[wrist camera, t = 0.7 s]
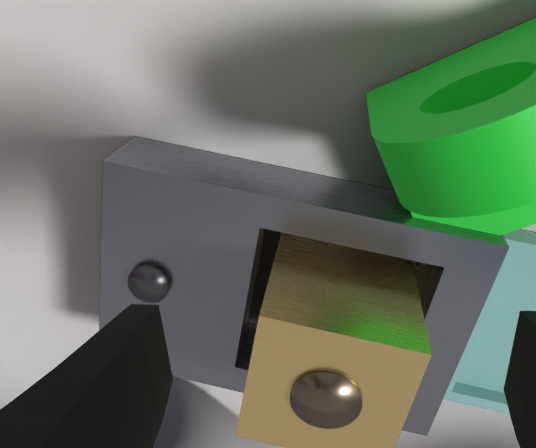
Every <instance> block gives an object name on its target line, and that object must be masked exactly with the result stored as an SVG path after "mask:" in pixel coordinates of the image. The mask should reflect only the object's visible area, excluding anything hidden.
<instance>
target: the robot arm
mask: <svg viewBox="0 0 536 448" xmlns="http://www.w3.org/2000/svg"><path fill="white" fill-rule="evenodd" d="M172 379H173V376H172V371H171V366H170V360H169V355H168V350H167V345H166V340H165V335H164V329H163V324H162V319H161V314H160V309H159V305H147V304H131V305H129V306H128V307H127V308H126V309H124V310H123V311H122V312H121V313H119V314H118V315H117V316H116V317H115V318H113V319H112V320H111V321H110V322H109V323H108V324H107V325H105V326H104V327H103V328H102V329H101V330H100V331H98V332H97V333H96V334H95V335H94V336H93V337H91V338H90V339H89V340H88V341H87V342H86V343H84V344H83V345H82V346H81V347H80V348H78V349H77V350H76V351H75V352H74V353H72V354H71V355H70V356H69V357H68V358H66V359H65V360H64V361H63V362H62V363H61V364H59V365H58V366H57V367H56V368H54V369H53V370H52V371H51V372H49V373H48V374H47V375H45V376H44V377H43V378H41V379H40V380H39V381H38V382H36V383H35V384H34V385H32V386H31V387H30V388H28V389H27V390H26V391H25V392H23V393H22V394H21V395H19V396H18V397H17V398H16V399H14V400H13V401H12V402H10V403H9V404H7V405H6V406H5V407H3V408H2V409H1V410H0V448H153V445H154V443H155V440H156V437H157V435H158V432H159V429H160V427H161V424H162V420H163V416H164V413H165V409H166V405H167V401H168V397H169V392H170V388H171V384H172ZM504 393H505V397H506V401H507V405H508V408H509V412H510V416H511V420H512V423H513V427H514V430H515V434H516V437H517V440H518V443H519V445H520V448H536V311H520V312H519V317H518V322H517V327H516V332H515V336H514V341H513V346H512V351H511V356H510V361H509V365H508V370H507V375H506V380H505V385H504Z"/></svg>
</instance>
